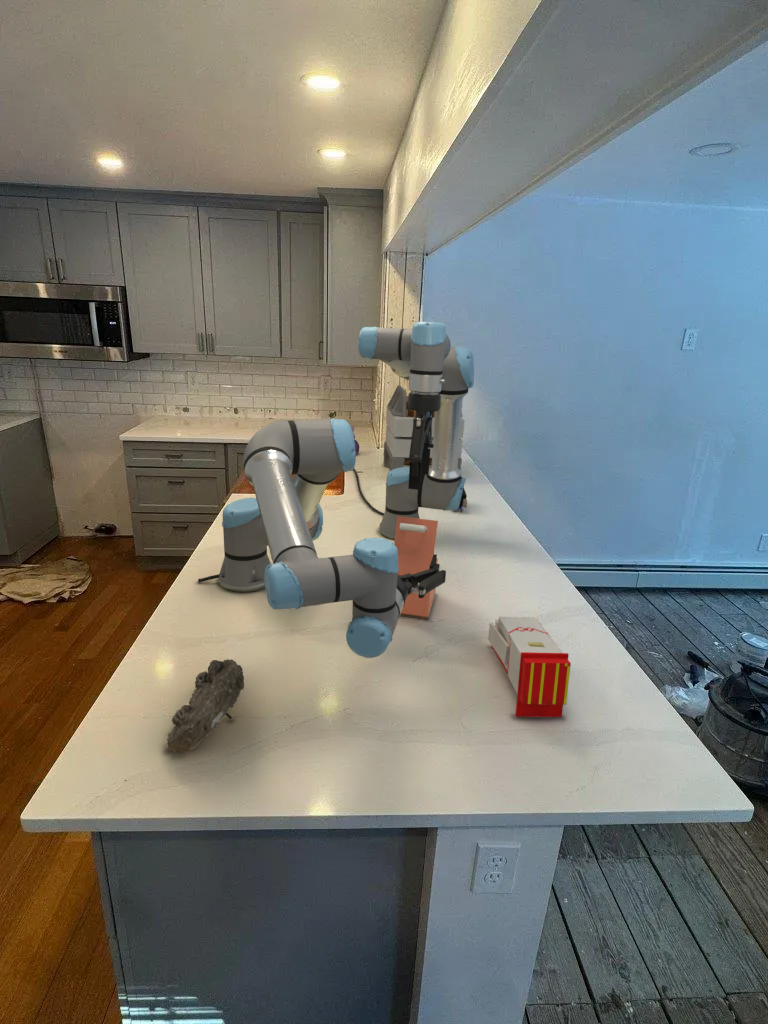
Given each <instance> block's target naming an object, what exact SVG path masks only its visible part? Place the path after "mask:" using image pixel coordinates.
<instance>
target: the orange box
mask: <svg viewBox="0 0 768 1024" xmlns="http://www.w3.org/2000/svg"><path fill="white" fill-rule="evenodd" d="M438 523H439V521H438V520H435V519H434V520H433V519H425V518H420V519H418V518H409V517H401V516H397V524H396V533H395V539H394V542H393V544H394V545H395V546H396V547H397V550H398V568H399V570H398V575H405V574H408V573H410V574H415V573H419V572H422V571H425V570H428V569H429V567H430V564H431V561H432V558H433V555H434V554H435V549H436V541H437V540H436V539H437V531H438Z"/></svg>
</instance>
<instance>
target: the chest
mask: <svg viewBox="0 0 768 1024" xmlns="http://www.w3.org/2000/svg"><path fill="white" fill-rule="evenodd" d="M436 564H439V558H438V557H437V561H436ZM407 580H408V579H407ZM436 588H437V587H436ZM436 588H435V589H433V590H431V591H430V592H428V593H427V594H426V595H425V597H424V598H419V597H418V594H416V593H411V594H409V595H408V596H407V599H406V602H405V604H404V607H403V609H402V612H401V614H400V617H406V618H413V619H420V620H427V621H428V620H429V617H430V614H431V611H432V608H433V607H432V606H433V603H434V600H435V597H436V590H437V589H436Z"/></svg>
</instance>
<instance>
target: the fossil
mask: <svg viewBox="0 0 768 1024" xmlns="http://www.w3.org/2000/svg"><path fill="white" fill-rule="evenodd" d="M243 670H244V669H243V667H242V665H240V664H237V662H236V661H235V660H234V659H232V658H231V659H227V658H226V659H224V660H223V661H222V660H217V659H212V660H211V661H210V663H209V665H208V666H207V671H201V672H199V673H198V674H197V675H196V676H195V680H194V684H195V685H194V687H195V689H194V690H193V693H192V694H191V697H190V698H189V700H188V704H184V705H182V706H181V707H180V709H177V710H176V711H175V713H174V715H173V716H172V718H171V723H172V724H173V727H172V730H171V731H170V732H168V734H167V738H166V741H167V742H166V745H167V749H168V750H169V751H173V752H174V753H176V754H178V753H182V752H188V751H189V752H192V751H193V750H195V748H196V747H197V746H199V744H200V743H201V742H203V741H204V740H205V739H206V738H207V737H208V736H209V735H210V734H211V733H212V732H214V730H215V729H217V727H218V726H219V724H220V722H221V721H222V720H223V719H224V718H225V716H226V717H227V719H229V720H233V717H232V715H230V714H229V710H230V709H231V708H234V706H235V704H236V703H237V702H238V699H239V697H240V695H241V693H242V691H243V690H245V689H244V688H245V675H244V671H243Z"/></svg>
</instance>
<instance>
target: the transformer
mask: <svg viewBox="0 0 768 1024" xmlns="http://www.w3.org/2000/svg"><path fill="white" fill-rule="evenodd" d="M407 394H408V393H407V390H406V389H404V388H403V387H402V385H399V384H398V385H397V386H396V388H395V390H394V392H393V394H392V395H391V398H390V400H389V402H388V404H387V405H386V413H385V414H386V415H385V423H386V428H385V438H384V442H383V466H384V467H388V468H389V472H390V471H391V470H393V469H396V468H401V467H405V466H406V467H410V462H407V458H409V454H410V446H411V439H412V431H413V419H414V417H416V416H417V411H415V410H410V409H409V408H408V395H407ZM434 416H435V412H433V413H432V443H431V444H433V433H434ZM464 429H465V419H464V418H463V413H462V414H461V427H460V440H459V453H458V465H457V468H458V469H459V470H460V471H461V472H462V461H463V460H462V453H463V442H464V441H463V440H462V439H463V438H464V431H465V430H464ZM428 449H430V462H429V467H431V466H432V450H433V448H428Z"/></svg>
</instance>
